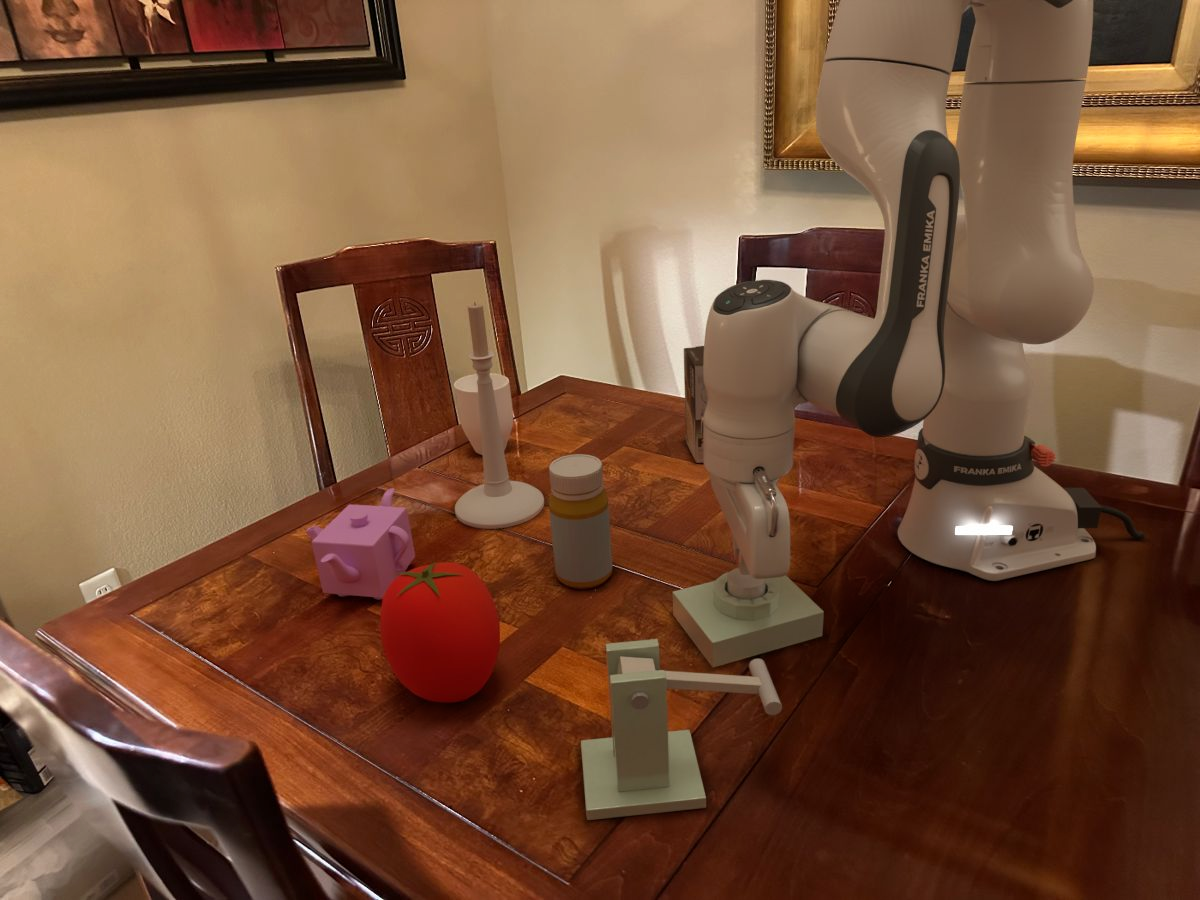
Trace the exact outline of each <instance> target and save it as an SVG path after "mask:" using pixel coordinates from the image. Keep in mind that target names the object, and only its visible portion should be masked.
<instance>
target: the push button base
mask: <svg viewBox="0 0 1200 900" xmlns="http://www.w3.org/2000/svg"><path fill="white" fill-rule="evenodd" d="M729 572H730V571H727V572H724V573H722V574H721V575H720V576H718V577H717V578H716V579H715V580H712V581H709V582H704V583H700V584H697V585H693V586H689V587H684V588H681V589H678V590H674V591H672V615H673V617H674V618H675V620H676V621H677V622H678V624H679V625H680V626H681V628H682V629H683V630H684V632H685V633H686V634H687V635H688V637H689V638H690V640H691V641H692V642H693V644H694V645H695V647H697V649H698V650H699V652H700V653H701V654H702V656H703V657H704V658H705V659H706V661H707V662H708V663H709V665H710V667H712V668H717V667H721V666H725V665H727V664H731V663H734V662H738V661H741V660H744V659H748V658H751V657H754V656H759V655H762V654H765V653H769V652H772V651H776V650H779V649H782V648H783V649H784V648H785V647H789V646H793V645H797V644H800V643H803V642H808V641H810V640H815V639H817V638H818V639H819V638H820V637H823V634H824V633H823V630H824V617H825V615H824V614H825V613H824V612H825V611H824V610H823V609H822V608H820V606H819V605H818V604H817V603H815V602H814V601H813V600H812V599H811V597H809V596H808V595H807V594H806V593H805V592H804V591H803V590H802V589H801V588H800V587H799V586H798V585H796V583H795V582H794V581H793V580H792V579H790V578H789V576H787V574H786V575H785V576H783V577H777V578H767V579H766V580H765V594H764V595H763V596H762V597H760V598H756V599H753V600H746V599H738V598H735V597H733V596H731V595H730V594H729V593H728V590H727V576H728V574H729Z"/></svg>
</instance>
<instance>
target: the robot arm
mask: <svg viewBox="0 0 1200 900" xmlns="http://www.w3.org/2000/svg"><path fill="white" fill-rule="evenodd" d="M968 7H971V9H972V12H973V15H974V18H975V23H974V27H973V31H972V35H971V40H970V43H969V49H968V54H967V58H966V64H965V65H966V66H965V70H964V71H965V72H964V78H963V82H964V83H963V84H962V92H961V101H960V108H959V115H958V123H957V132H956V139H955V145H954V144H953V143H952V141H950V140H949V134H948V131H947V130H948V127H947V116H946V115H947V113H946V112H947V98H948V90H949V84H950V81H951V76H952V71H953V68H954V63H955V59H956V58H955V57H956V54H957V48H958V42H959V38H960V31H961V24H962V17H963V13H964V12H965V10H966V9H967V8H968ZM1093 24H1094V0H840V1H839V4H838V7H837V10H836V13H835V16H834V20H833V23H832V27H831V30H830V35H829V38H828V42H827V47H826V51H825V56H824V60H823V65H822V69H821V74H820V79H819V84H818V88H817V95H816V102H815V130H816V134H817V136H818V139H819V142H820V143H821V145H822V147H823V149H824V150H825V152H826V153H827V155H828V156H829V158H830V159H831V160H832V161H833V162H834V163H835V164H836V166H838V167H839V168H840V169H841V170H842V171H844V173H846V174H847V175H849V176H850V177H851V178H853V179H854V180H856V181H857V182H858V183H860V184H861V185H862V187H864V189H866V190H867V191H868V193H869V194H870V195H871V197H872V198H873V199H874V200H875V202H876V204H877V206H878V208H879V210H880V213H881V216H882V219H883V225H884V238H883V239H884V241H883V249H882V259H881V268H880V276H879V286H878V296H877V303H876V304H877V306H876V313H875V316H874V318H873V317H870V316H867V315H862V314H861V313H857V312H855V311H853V310H850V309H847V308H844V307H840V306H837V305H834V304H830V303H827V302H821V301H817V300H814V299H811V298H809V297H807V296H805V295H802V294H800V293H798V292H796V291H795V290H794V289H793V288H792V287H791V285H789V284H788V283H786V282H783V281H781V280H774V279H759V280H758V279H757V280H747V281H744V282H739V283H736V284H734V285H732V286H729V287H727V288H726V289H724V290H723V291H721V292H720V293H719V294H718V295H717V296H715V298H714V300H713V301H712V303H711V305H710V309H709V312H708V315H707V319H706V320H707V321H706V325H705V330H704V343H703V346H704V363H703V378H704V384H705V387H706V391H707V397H708V401H707V406H706V410H705V413H704V417H703V418H702V420H701V433H702V437H703V462H702V463H703V466H704V468H705V469H706V471H707V472H708V475H709V481H710V486H711V489H712V492H713V493H714V496H715V498H716V500H717V503H718V505H719V507H720V509H721V511H722V514H723V516H724V518H725V521H726V523H727V525H728V527H729V529H730V532H731V538H732V544H733V558H734V559H733V560H734V561H735V564H736V565H737V568H739V571H740V573H741V574H742V575H748V574H750V575H751V577H752V578H754V579H767V578H777V577H783V576H785V575H786V576H787V575H788V573H789V571H790V568H791V519H790V511H789V507H788V503H787V501H786V498H785V497H784V496H783V494H782V492H781V490H780V489H779V487H778V484H779V482H780V478H783V477H784V476H786V475H787V474H789V473H790V472H791V470H792V469H793V465H794V452H795V431H796V429H795V428H796V415H795V411H796V408H797V407H798V406H799V405H801V404H806V403H810V404H812V405H814V406H816V407H818V408H820V409H823V410H825V411H827V412H829V413H832V414H833V415H835V416H838V417H840V418H841V419H842V420H844V421H845V422H847V423H848V424H850V425H852V426H853V427H855V428H856V429H858V430H860V431H862V432H863V433H865V434H867V435H868V436H871V437H874V438H887V437H891V436H895V435H898V434H901V433H903V432H905V431H907V430H910V429H912V428H914V427H915V426H918V425H919V424H920V423H921V422H922V427H921V429H920V430H919V431H918V435H917V442H916V447H915V453H914V454H915V455H914V473H913V475H914V482H913V486H912V490H911V494H910V498H909V500H908V505H907V507H906V510H905V513H904V515H903V517H902V519H901V522H900V524H899V525H898V528H897V538H898V541H900V543H901V544H902V546H903V547H905V549H906V550H908V551H909V552H910V553H912V554H913V555H915V556H917V557H919V558H920V559H922V560H925V561H927V562H929V563H932V564H935V565H938V566H942V567H946V568H950V569H954V570H959V571H963V572H967V573H969V574H971V575H973V576H975V577H978V578H980V579H983V580H986V581H991V582H998V581H1002V580H1007V579H1012V578H1015V577H1020V576H1024V575H1029V574H1033V573H1037V572H1041V571H1046V570H1050V569H1054V568H1059V567H1063V566H1064V567H1065V566H1067V565H1068V566H1069V565H1073V564H1078V563H1080V562H1085V561H1089V560H1090V561H1091V560H1093V559H1095V558H1096V555H1097V544H1096V542H1095V540H1094V539H1093V537H1092V535H1091V534H1090V533H1089V532H1088V531H1087V530H1086V529H1098V527H1099V522H1100V517H1101V513H1102V514H1107V515H1111V516H1114V517H1115V518H1118V519H1120V520H1121V521H1122V522H1123V524H1124V526H1125V530H1126V531H1127V533H1128V534H1129V536H1131V537H1132V538H1133V539H1137V540H1138V539H1144V538H1145V533H1144V531H1142V530H1141V531H1138V530H1136V528H1135V526H1134V522H1133V520H1132V518H1131V517H1130V516H1129V515H1127V514H1126V513H1125V512H1123V511H1121V510H1119V509H1117V508H1114V507H1111V506H1107V505H1103V504H1099V503H1098V502H1097V500H1096V499H1095V498H1094V497H1093V496H1092V495H1091V494H1090V493H1089V492H1088V491H1087V489H1086V488H1085V487H1062V486H1061V485H1060V484H1059V483H1057V482H1056V481H1055V480H1053V479H1052V478H1051V477H1050V476H1049V475H1047V474H1046V473H1045V472H1043V471H1042V470H1041V469H1039V468H1038V467H1037V466H1035V465H1034V464H1035V463H1034V461H1036V462H1037V464H1039V465H1040V467H1041V466H1042V467H1049V466H1051V465H1052V463H1055V460H1056V453H1055V452H1054V451H1053V450H1052V449H1050V448H1048V447H1047V446H1046V445H1045V444H1038V445H1036V442H1035V441H1034V440H1033V439H1032V438H1030V437H1029V436H1027V435H1025V434H1026V427H1027V421H1028V416H1029V410H1030V403H1031V398H1032V397H1031V396H1032V391H1033V382H1034V381H1033V374H1032V370H1031V367H1030V365H1029V362H1028V360H1027V357H1026V354H1025V349H1024V346H1023V345H1024V344H1025V345H1043V344H1048V343H1052V342H1054V341H1058V340H1059V339H1061V338H1063V337H1064V336H1066V335H1067V334H1068V333H1070V332H1071V331H1073V330H1074V329H1075V328H1076V327H1078V325H1079V324H1080V323H1081V321H1082V320H1084V317H1085V316H1086V314H1087V312H1088V310H1089V309H1090V306H1091V304H1092V300H1093V297H1094V292H1095V291H1094V290H1095V286H1094V285H1095V283H1094V277H1093V274H1092V271H1091V269H1090V267H1089V264H1088V263H1087V262H1086V259H1085V257H1084V255H1083V252H1082V250H1081V249H1082V248H1081V246H1080V243H1079V238H1078V237H1079V236H1078V231H1077V230H1078V229H1077V222H1076V221H1077V220H1076V211H1075V210H1076V209H1075V201H1074V199H1075V198H1074V185H1073V183H1074V181H1073V174H1074V173H1073V171H1074V170H1073V167H1074V156H1075V148H1076V141H1077V136H1078V129H1079V124H1080V117H1081V112H1082V105H1083V100H1084V94H1085V87H1086V82H1087V77H1088V70H1089V65H1090V58H1091V49H1092V41H1093V40H1092V39H1093ZM960 188H961V193H962V199H963V206H964V214H959V215H958V211H959V201H960V200H959V199H960ZM1033 460H1034V461H1033Z"/></svg>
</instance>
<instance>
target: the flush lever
mask: <svg viewBox="0 0 1200 900" xmlns="http://www.w3.org/2000/svg"><path fill="white" fill-rule="evenodd" d="M748 670H749V671H750V675H751V676H749V675H737V674H736V675H734V674H719V673H704V672H690V671H675V670H664V671H665V674H666V686H667V689H669V690H671V689H672V690H686V691H687V690H688V691H703V692H715V693H716V692H718V693H730V694H731V693H733V694H748V695H758V696H759V698H760V702H761V704H762V707H763V710H764V712H765V713H766V714H767V715H768V716H777V715H778V714H780V713H781V711H782V710H783V704H782V702H781V700H780V697H779V694H778V691H777V689H776V687H775V685H774V683H773V680H772V677H771V674H770V672H769V669H768V666H767V665H766V662H765V660H763V659H762V658H753V659H752V660H750V661H749V664H748ZM646 671H656V670H655V666H654V661H653V659H651V658H636V657H622V656H620V659H619V664H618V670H617V674H626V673H636V672H646Z"/></svg>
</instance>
